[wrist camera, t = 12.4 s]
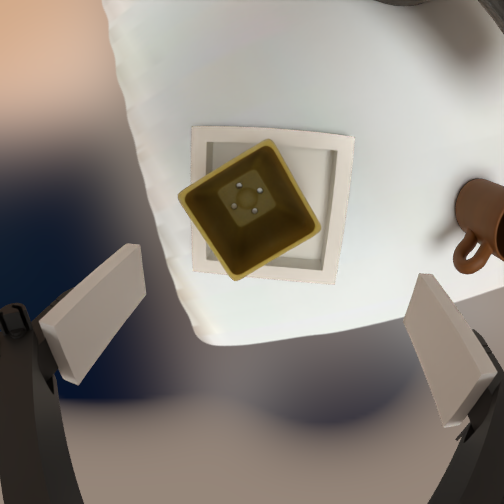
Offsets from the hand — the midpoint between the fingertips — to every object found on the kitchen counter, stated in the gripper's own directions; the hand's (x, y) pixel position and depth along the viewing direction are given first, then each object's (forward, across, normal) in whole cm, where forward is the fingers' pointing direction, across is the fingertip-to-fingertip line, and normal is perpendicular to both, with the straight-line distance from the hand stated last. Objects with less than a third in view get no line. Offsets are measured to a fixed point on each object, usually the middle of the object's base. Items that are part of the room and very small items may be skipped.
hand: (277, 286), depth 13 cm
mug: (+22, +23, 0) cm, 32 cm away
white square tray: (+21, -2, -2) cm, 21 cm away
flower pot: (+20, -4, -1) cm, 21 cm away
